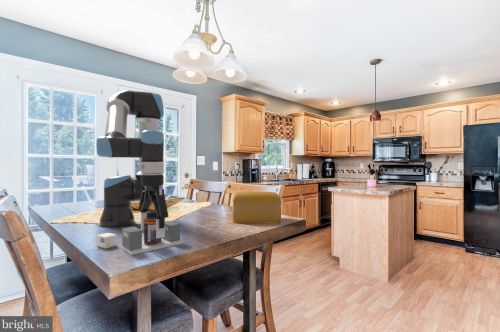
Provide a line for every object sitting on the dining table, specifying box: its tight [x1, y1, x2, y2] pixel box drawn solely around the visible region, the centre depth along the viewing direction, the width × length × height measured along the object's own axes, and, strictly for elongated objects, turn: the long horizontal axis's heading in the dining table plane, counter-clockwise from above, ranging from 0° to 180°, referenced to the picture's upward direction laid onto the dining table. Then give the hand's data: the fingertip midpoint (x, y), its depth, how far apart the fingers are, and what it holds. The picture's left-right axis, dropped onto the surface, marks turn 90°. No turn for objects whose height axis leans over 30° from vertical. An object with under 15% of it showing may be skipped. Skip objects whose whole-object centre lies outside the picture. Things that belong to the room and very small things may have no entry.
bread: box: [231, 191, 282, 224], centre depth 137 cm, size 24×13×15 cm, turn 95°
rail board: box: [120, 220, 183, 256], centre depth 94 cm, size 10×18×7 cm, turn 133°
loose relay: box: [96, 232, 117, 249], centre depth 93 cm, size 5×4×4 cm
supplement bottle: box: [143, 209, 161, 245], centre depth 94 cm, size 6×6×11 cm
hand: (152, 233), depth 94 cm, fingers open, 13 cm apart
